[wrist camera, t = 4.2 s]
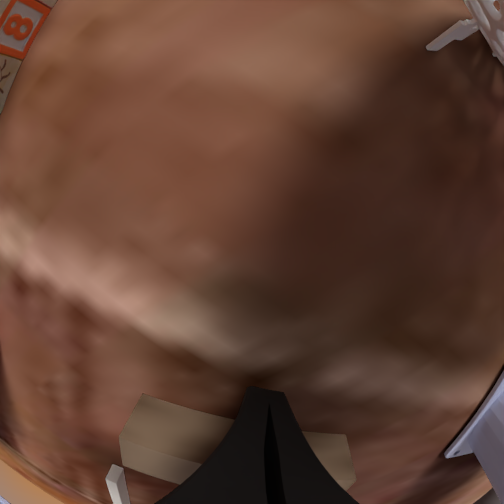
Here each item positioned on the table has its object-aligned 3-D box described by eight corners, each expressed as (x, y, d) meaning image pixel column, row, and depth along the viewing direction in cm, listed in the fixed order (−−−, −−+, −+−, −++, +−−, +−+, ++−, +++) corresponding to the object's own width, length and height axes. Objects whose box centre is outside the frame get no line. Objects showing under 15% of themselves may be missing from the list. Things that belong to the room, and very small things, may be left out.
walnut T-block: (345, 434, 12) (356, 480, 9) (295, 498, 14) (296, 533, 11) (142, 393, 12) (118, 437, 9) (143, 467, 14) (129, 501, 11)
